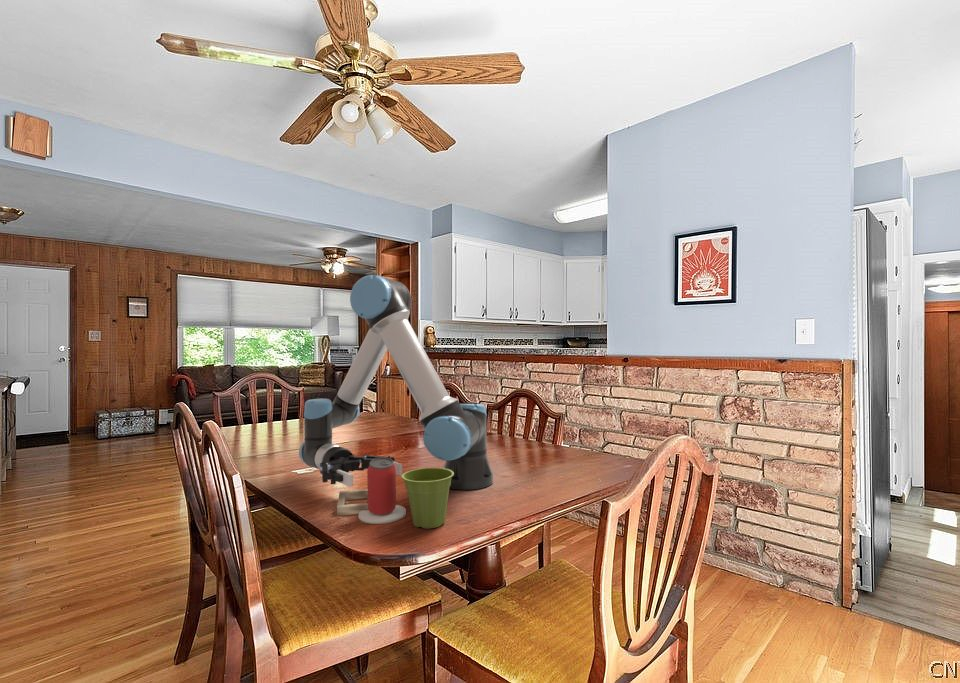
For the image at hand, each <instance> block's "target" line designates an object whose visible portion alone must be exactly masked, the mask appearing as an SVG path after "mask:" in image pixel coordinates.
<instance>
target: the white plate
mask: <svg viewBox="0 0 960 683" xmlns="http://www.w3.org/2000/svg"><path fill="white" fill-rule="evenodd" d="M406 511H407V510H406V508H405V507H404V506H402V505H399V504H396V507H395V509H394V510H393V511H392V512H391V513H389V514H386V515H375V514H372V513H371V512H370V511H369V510H361V511H360V512H359V514H358V520H360V522H362V523H365V524H371V525H372V524H373V525H382V524H389V523H394V522H397V521H399V520H402V519H403V518H405V516H406V515H407V512H406Z"/></svg>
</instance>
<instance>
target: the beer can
mask: <svg viewBox="0 0 960 683" xmlns="http://www.w3.org/2000/svg"><path fill="white" fill-rule="evenodd" d="M386 457H387V456H384V457H380V458H375V459H373V460H371V461H370V463H369V464H370V465H369V467H368V469H367V471H366V474H367V476H366V478H367V482H366V483H367V489H368V498H367V503H368V510H369V511H370V512H371V513H372V514H375V515H386V514H389V513H391V512H392V511H393V510H394V509H395V507H396V505H397V495H396V494H397V474H396V469H395V466H394V461H393V460H392V459H390V458H386Z"/></svg>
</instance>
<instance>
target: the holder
mask: <svg viewBox="0 0 960 683" xmlns="http://www.w3.org/2000/svg"><path fill="white" fill-rule="evenodd" d="M364 498H365V499H368V488H365V489H353V490H341V491H339V493H338V499H337V505H336V516H338V517H339V516H348V515H349V516H350V515H359V512H360V511H361V510H368V502H363V503H360V502H359V503H351V504H346V501H348V500H349V501H350V500H351V501H352V500H363V499H364Z"/></svg>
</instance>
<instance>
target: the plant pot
mask: <svg viewBox="0 0 960 683" xmlns="http://www.w3.org/2000/svg"><path fill="white" fill-rule="evenodd" d="M453 475H454V472H453V471H452V470H449V469H445V468H444V467H422V468H416V469H411V470H408V471H406V472H403V473H402V475H401V479H402V480H403V482H404V487H405V489H406V492H407V498H408V501H409V502H408V503H409V508H410V514H411V517H412V523H413V525H414V527H417V528H419V527H421V528H422V529H425V530H426V529H430V530H431V529H435V528H438V527H441V526H442V525H443V524H445V523H446V518H447V517H446V516H447V509H448V501H449V493H450V488H449V487H450V485H451V478H452V476H453Z"/></svg>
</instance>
